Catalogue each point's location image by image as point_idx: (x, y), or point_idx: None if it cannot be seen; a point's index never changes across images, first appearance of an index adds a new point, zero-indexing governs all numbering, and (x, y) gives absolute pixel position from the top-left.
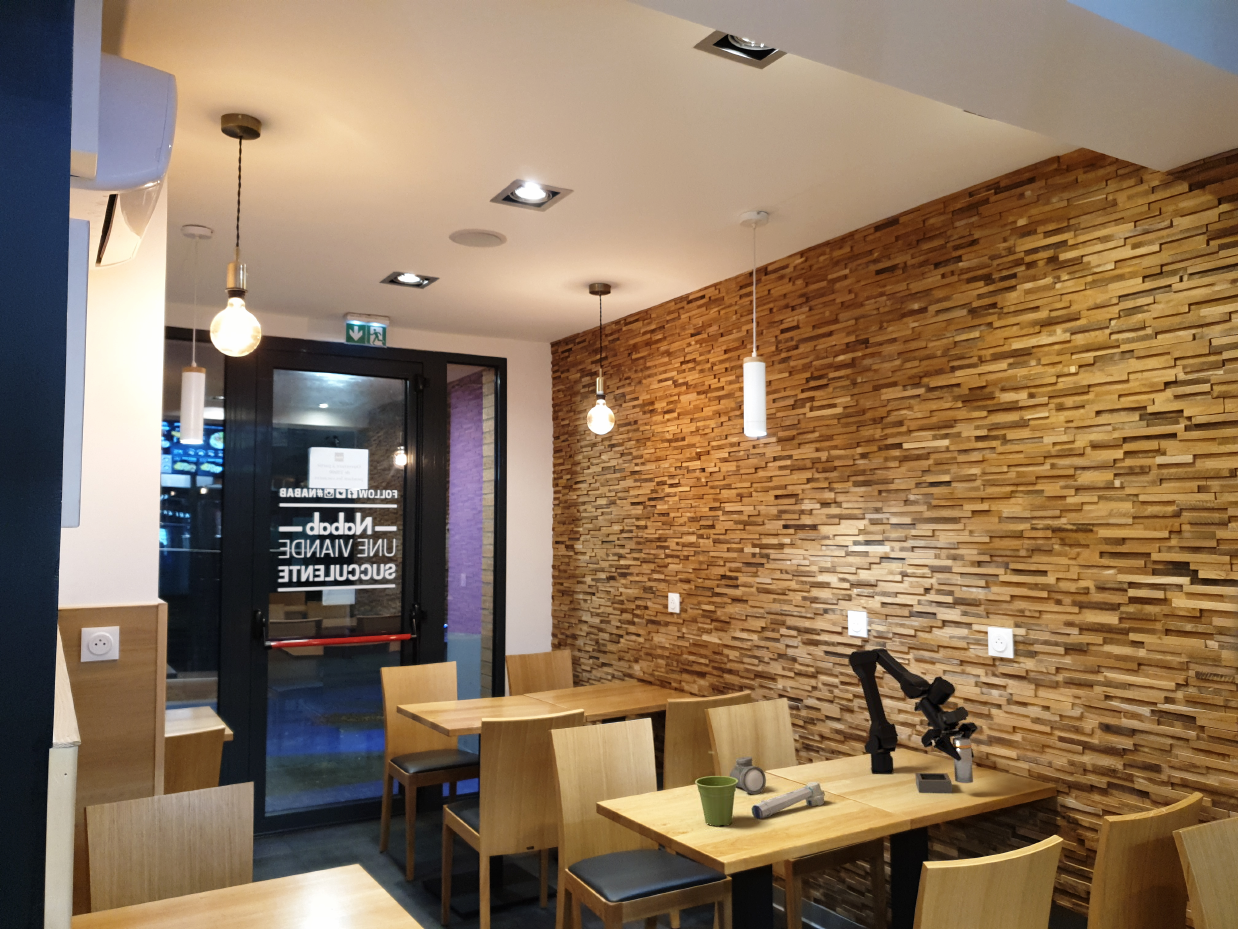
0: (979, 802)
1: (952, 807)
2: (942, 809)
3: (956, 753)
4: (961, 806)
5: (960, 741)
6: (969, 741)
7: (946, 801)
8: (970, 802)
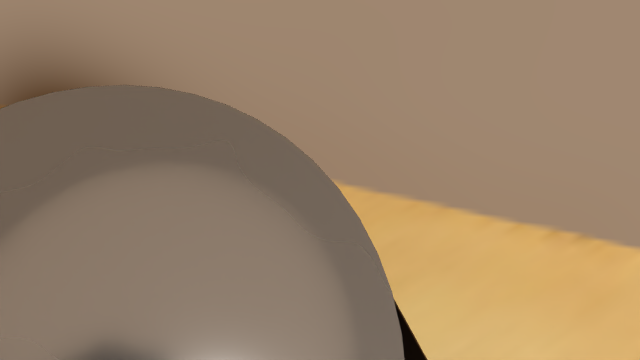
0: (350, 186)
1: (556, 250)
2: (637, 273)
3: (413, 346)
4: (498, 222)
5: (376, 255)
6: (136, 99)
7: (475, 349)
8: (387, 224)
